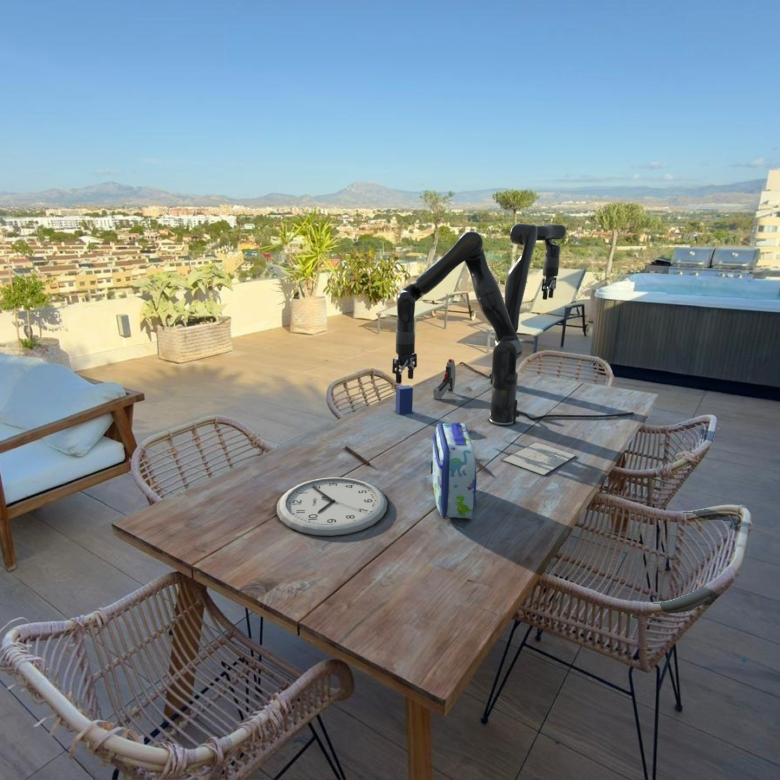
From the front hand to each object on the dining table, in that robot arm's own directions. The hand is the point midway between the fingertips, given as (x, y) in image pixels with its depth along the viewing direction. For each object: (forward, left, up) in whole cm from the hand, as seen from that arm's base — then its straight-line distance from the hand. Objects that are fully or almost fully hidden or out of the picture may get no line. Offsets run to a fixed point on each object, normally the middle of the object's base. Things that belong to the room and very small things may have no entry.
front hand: (404, 380), depth 211 cm
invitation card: (-32, +53, -14) cm, 63 cm away
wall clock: (+40, +68, -14) cm, 80 cm away
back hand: (-88, -46, +26) cm, 103 cm away
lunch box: (+7, +73, -14) cm, 75 cm away
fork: (-10, +52, -14) cm, 55 cm away
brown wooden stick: (+27, +39, -14) cm, 49 cm away
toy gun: (-24, -18, -14) cm, 33 cm away
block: (0, 0, -14) cm, 14 cm away
